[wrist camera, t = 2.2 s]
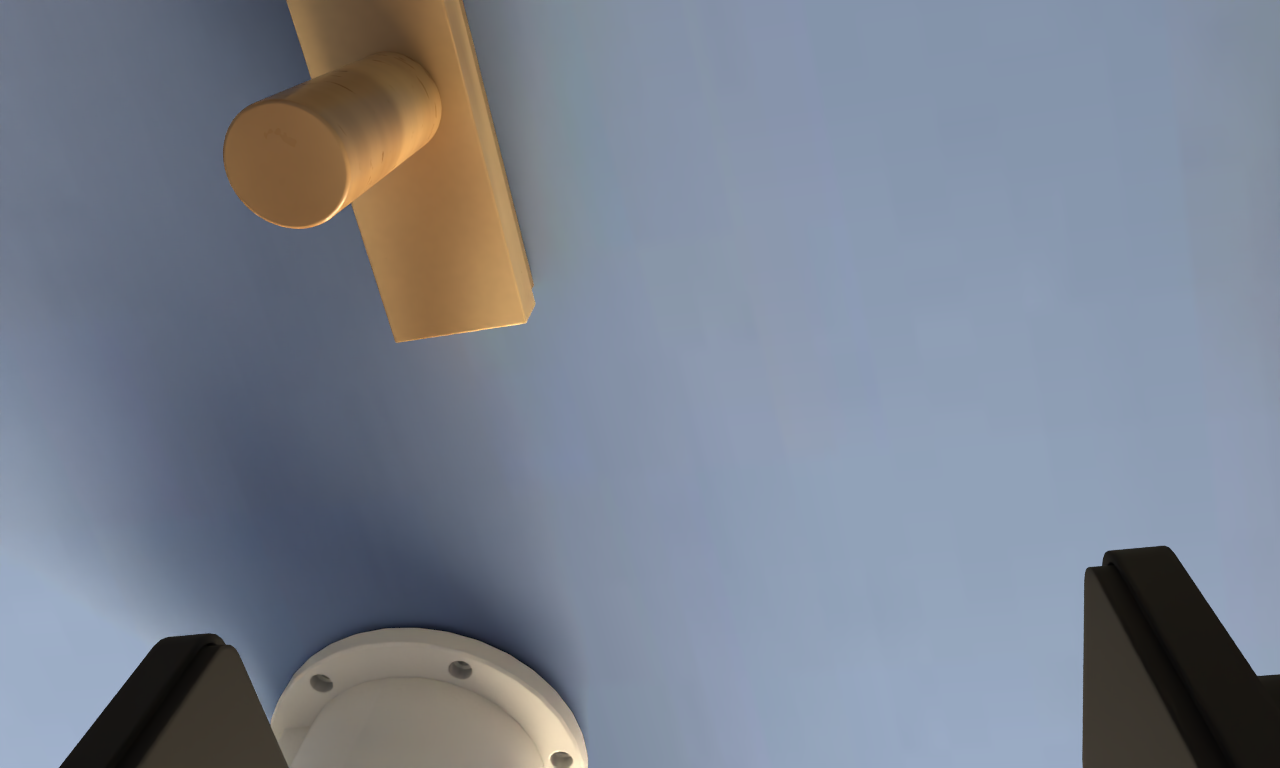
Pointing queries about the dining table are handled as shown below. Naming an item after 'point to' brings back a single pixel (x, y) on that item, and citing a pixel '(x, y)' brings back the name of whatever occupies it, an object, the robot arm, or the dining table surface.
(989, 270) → the dining table surface
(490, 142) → the brush
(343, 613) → the dining table surface
